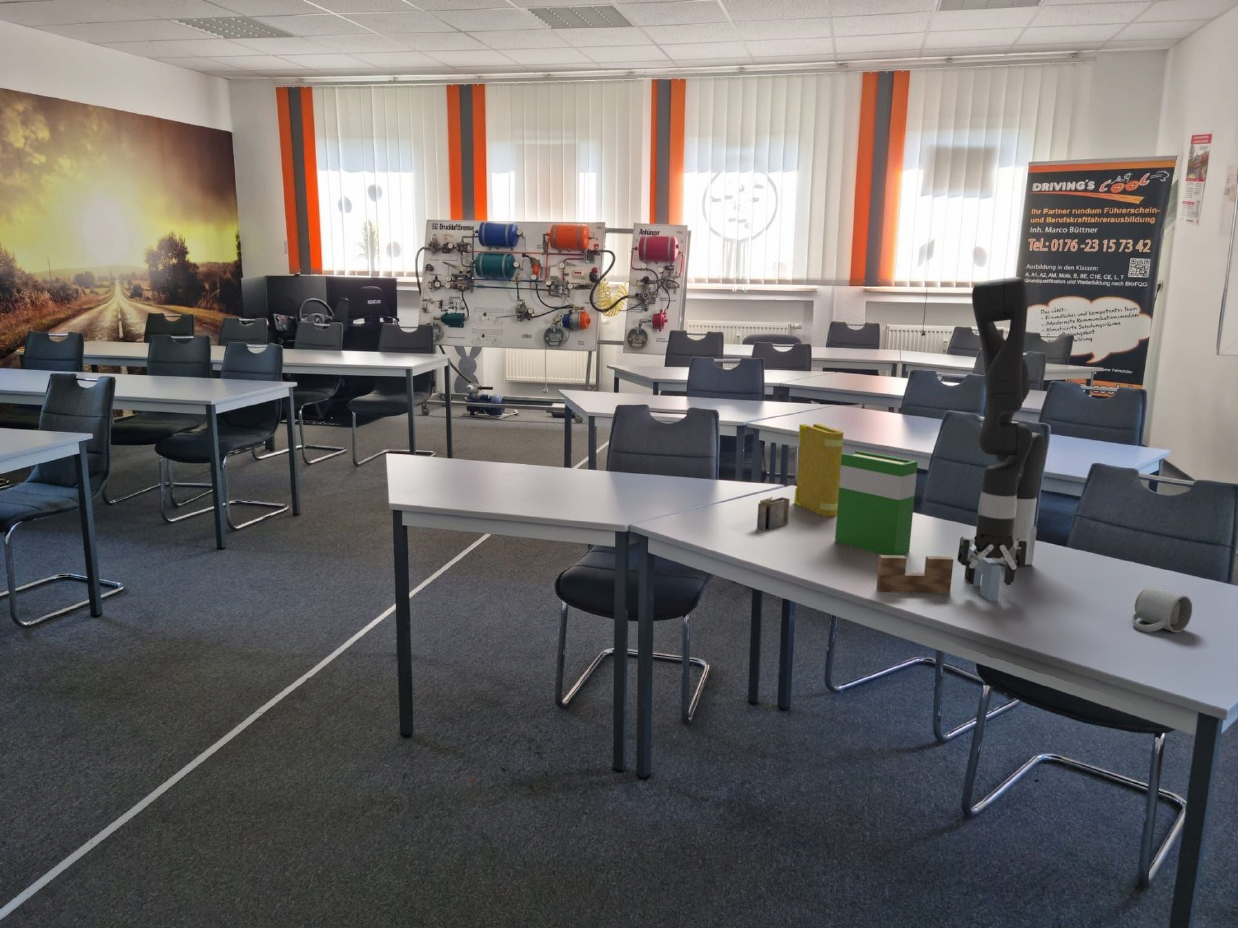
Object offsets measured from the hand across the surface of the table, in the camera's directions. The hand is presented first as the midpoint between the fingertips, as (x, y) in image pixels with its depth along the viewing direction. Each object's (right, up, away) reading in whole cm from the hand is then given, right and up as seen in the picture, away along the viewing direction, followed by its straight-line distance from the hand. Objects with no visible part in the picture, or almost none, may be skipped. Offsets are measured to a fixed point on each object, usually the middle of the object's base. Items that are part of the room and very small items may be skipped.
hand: (988, 583), depth 196 cm
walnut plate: (-16, -2, +3) cm, 16 cm away
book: (-21, +13, +74) cm, 78 cm away
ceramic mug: (+28, -7, -15) cm, 33 cm away
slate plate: (0, -2, +5) cm, 5 cm away
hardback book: (-16, +5, +36) cm, 40 cm away
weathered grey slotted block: (-39, +8, +54) cm, 67 cm away
